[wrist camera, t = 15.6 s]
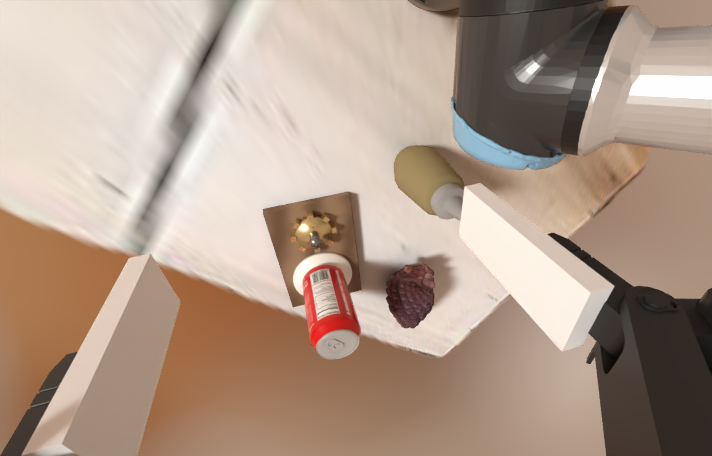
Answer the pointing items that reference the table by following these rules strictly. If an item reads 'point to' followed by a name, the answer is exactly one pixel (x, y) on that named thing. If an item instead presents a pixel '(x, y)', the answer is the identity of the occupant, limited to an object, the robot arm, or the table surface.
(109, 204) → the table surface
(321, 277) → the soda can
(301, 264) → the ceramic plate
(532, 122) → the robot arm
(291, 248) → the gear board
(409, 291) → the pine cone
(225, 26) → the table surface
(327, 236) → the brass gear
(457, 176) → the squeeze bottle
